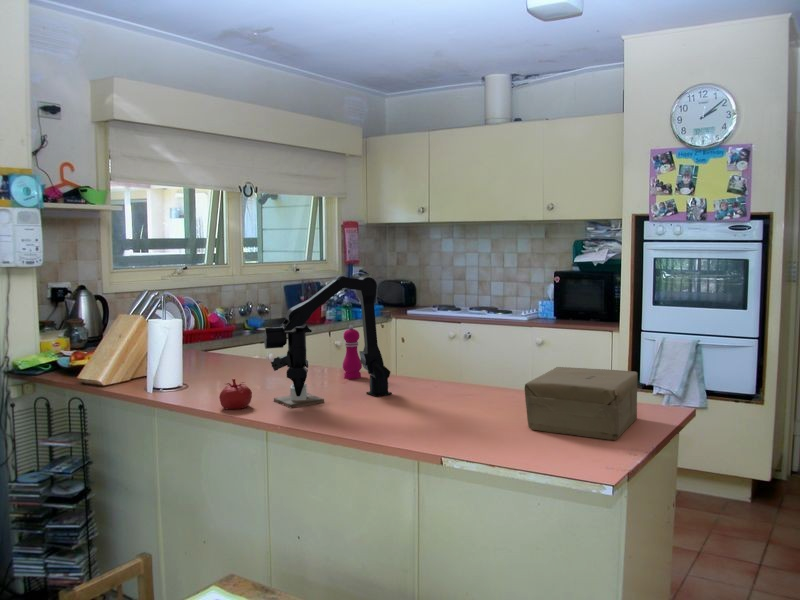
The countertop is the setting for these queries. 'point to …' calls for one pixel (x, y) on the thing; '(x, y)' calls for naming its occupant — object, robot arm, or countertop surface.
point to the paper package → (582, 402)
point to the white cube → (302, 396)
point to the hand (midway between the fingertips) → (298, 394)
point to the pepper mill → (351, 354)
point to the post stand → (310, 400)
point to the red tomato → (235, 396)
